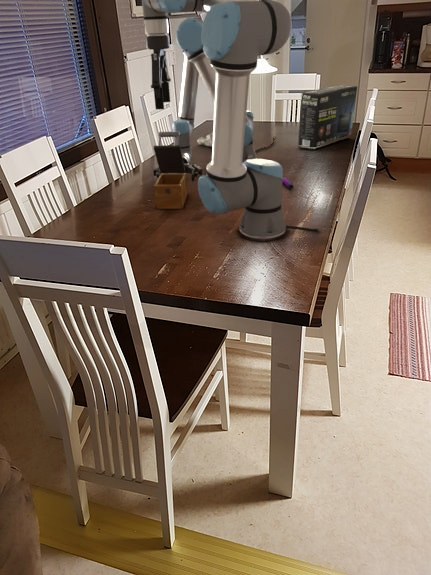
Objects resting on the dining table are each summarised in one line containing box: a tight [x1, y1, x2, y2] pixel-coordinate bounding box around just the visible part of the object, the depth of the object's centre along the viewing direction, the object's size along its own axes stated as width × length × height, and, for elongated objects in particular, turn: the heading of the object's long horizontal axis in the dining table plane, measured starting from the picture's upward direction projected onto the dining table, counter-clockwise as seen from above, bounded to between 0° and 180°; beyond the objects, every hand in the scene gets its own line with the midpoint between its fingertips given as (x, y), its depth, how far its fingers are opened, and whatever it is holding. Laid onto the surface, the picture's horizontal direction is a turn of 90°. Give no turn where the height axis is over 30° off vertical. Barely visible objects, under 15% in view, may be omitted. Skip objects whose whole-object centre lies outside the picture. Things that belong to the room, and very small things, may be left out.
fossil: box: [196, 129, 213, 147], centre depth 250 cm, size 18×11×15 cm
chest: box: [153, 173, 188, 210], centre depth 174 cm, size 14×10×9 cm
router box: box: [297, 84, 358, 151], centre depth 238 cm, size 36×11×27 cm, turn 134°
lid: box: [153, 131, 186, 174], centre depth 172 cm, size 15×10×9 cm
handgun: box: [282, 176, 294, 190], centre depth 191 cm, size 21×8×2 cm, turn 11°
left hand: (175, 178), depth 182 cm, fingers open, 13 cm apart
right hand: (163, 105), depth 157 cm, fingers open, 13 cm apart
